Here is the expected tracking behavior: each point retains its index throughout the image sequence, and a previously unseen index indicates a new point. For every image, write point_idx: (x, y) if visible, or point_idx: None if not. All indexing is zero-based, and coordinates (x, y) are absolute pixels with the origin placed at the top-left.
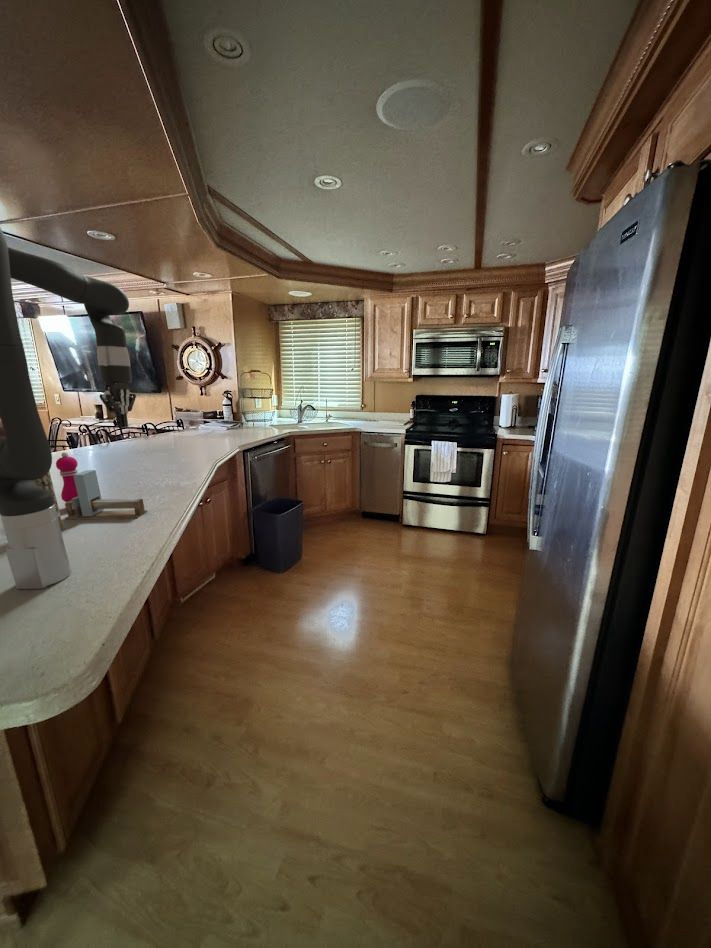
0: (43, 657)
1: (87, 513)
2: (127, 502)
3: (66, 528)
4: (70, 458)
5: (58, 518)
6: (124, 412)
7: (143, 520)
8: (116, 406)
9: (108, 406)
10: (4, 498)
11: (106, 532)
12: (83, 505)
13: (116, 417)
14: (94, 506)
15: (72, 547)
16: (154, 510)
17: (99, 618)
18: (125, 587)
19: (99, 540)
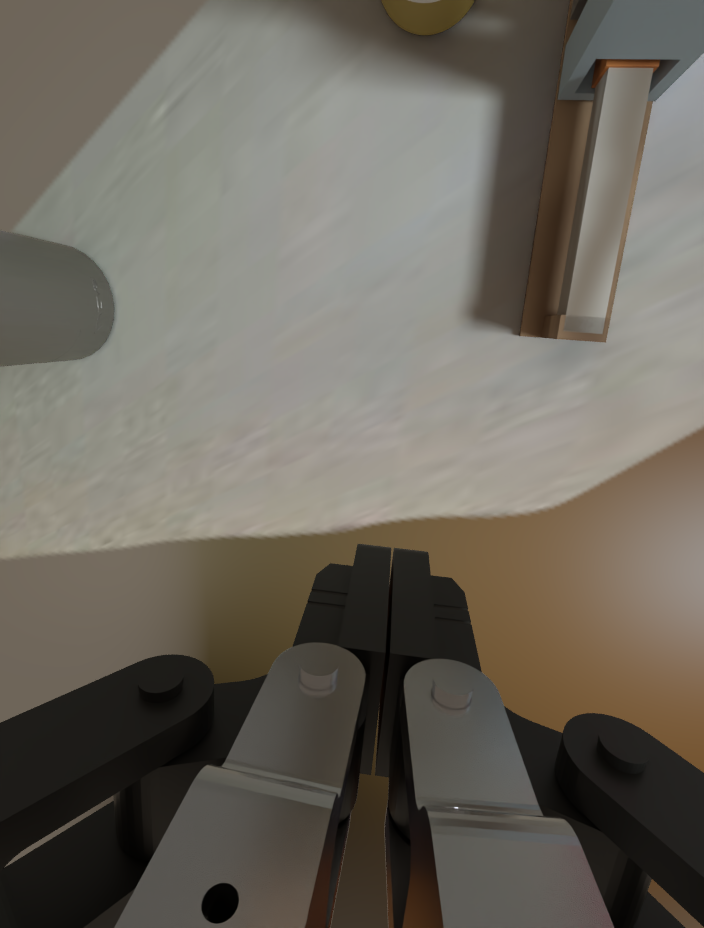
0: None
1: (565, 69)
2: (569, 281)
3: (445, 54)
4: None
5: (430, 7)
6: (390, 796)
7: (486, 374)
8: (58, 919)
9: (7, 779)
10: None
11: (375, 283)
12: (578, 32)
13: (297, 639)
14: (598, 84)
15: (251, 235)
16: (613, 367)
17: None
18: (42, 530)
19: (303, 301)
